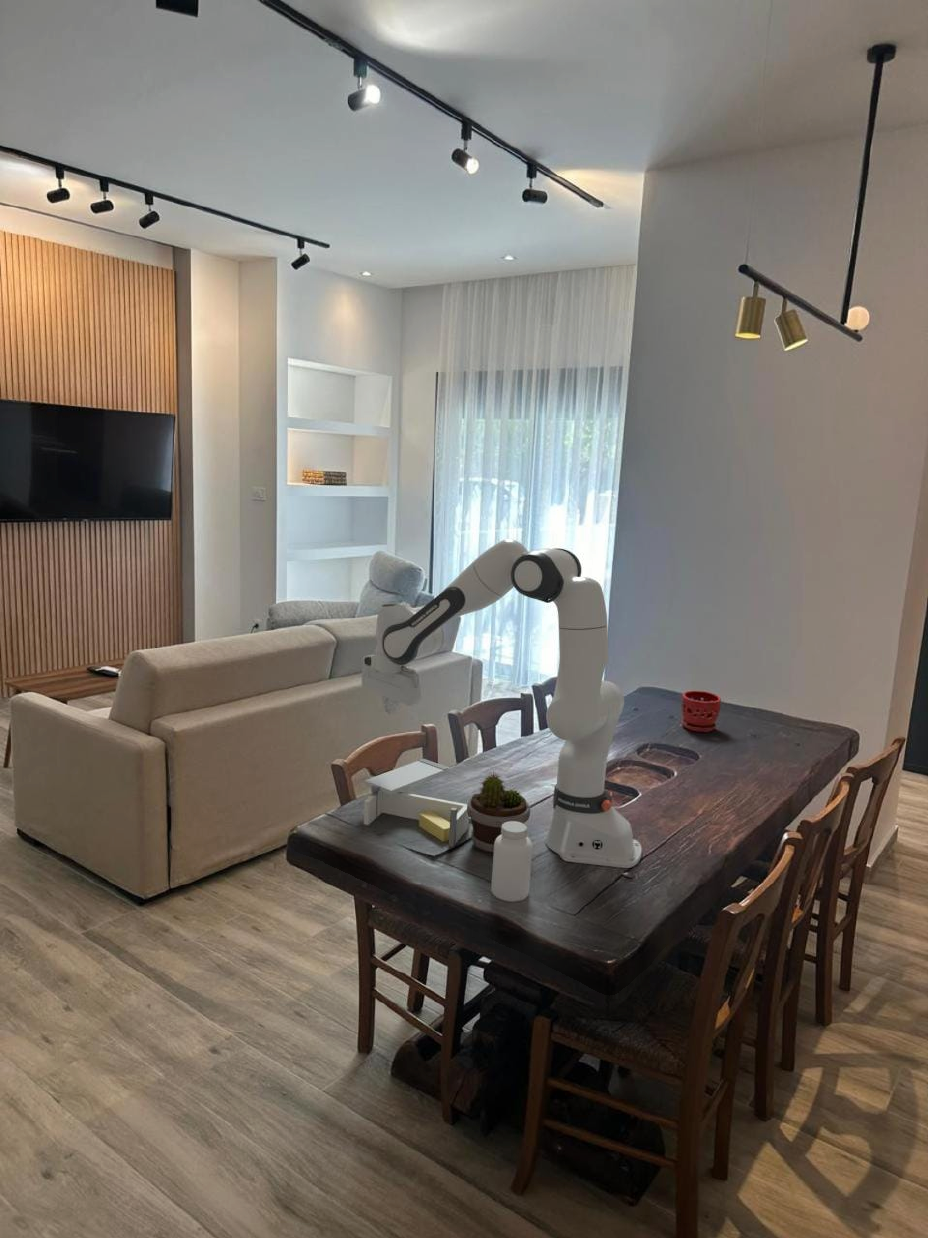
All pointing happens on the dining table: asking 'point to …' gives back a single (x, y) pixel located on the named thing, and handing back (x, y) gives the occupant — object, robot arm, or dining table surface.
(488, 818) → the flowerpot
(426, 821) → the yellow rectangular block
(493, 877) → the pill bottle
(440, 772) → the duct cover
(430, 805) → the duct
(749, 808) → the dining table surface
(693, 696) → the plant pot
